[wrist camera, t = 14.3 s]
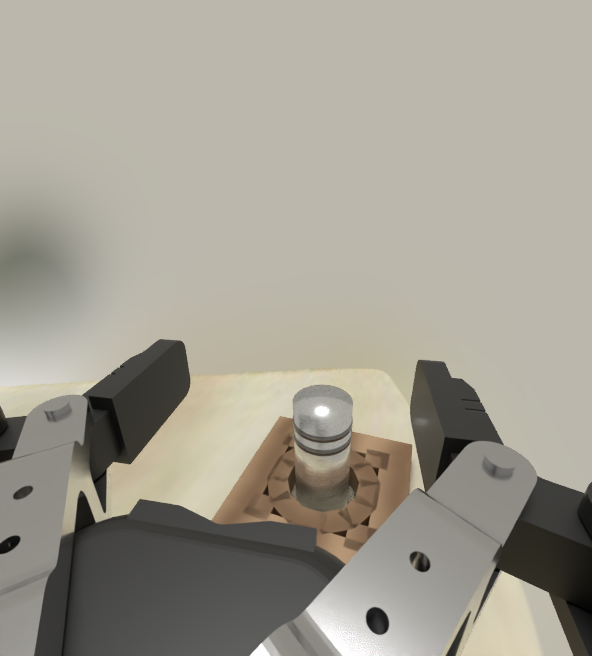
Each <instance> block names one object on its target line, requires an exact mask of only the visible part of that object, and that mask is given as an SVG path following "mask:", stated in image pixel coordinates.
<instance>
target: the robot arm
mask: <svg viewBox="0 0 592 656" xmlns="http://www.w3.org/2000/svg"><path fill="white" fill-rule="evenodd" d="M189 388H190V374H189V368H188V362H187V356H186V350H185V345H184V343H183V342H182V341H177V340H164V339H160V340H158V341H157V342H155V343H154V344H153V345H152V346H150V347H149V348H148V349H147V350H145V351H144V352H142V353H140V354H138V355H136V356H134V357H132V358H130V359H129V360H127V361H126V362H125V363H123V364H122V365H121V366H120V368H117V369H116V370H114V371H113V372H112V373H111V375H110V374H109V375H108V376H106V377H105V378H104V379H103V380H101V381H100V382H99V383H97V384H96V385H95V386H93V387H92V388H91V389H90V390H88V391H87V392H86V393H84V394H83V395H82V396H80V395H66V396H61V397H57V398H54V399H51V400H49V401H46V402H44V403H42V404H40V405H39V406H37V407H36V408H34V409H33V410H32V411H31V412H30V413H29V414H28V416H21V417H12V418H5V415H4V413H3V411H2V409H1V407H0V656H461V654H462V652H463V649H464V647H465V645H466V643H467V640H468V638H469V636H470V634H471V632H472V630H473V628H474V626H475V624H476V622H477V620H478V618H479V616H480V614H481V612H482V610H483V608H484V606H485V604H486V602H487V600H488V598H489V596H490V594H491V592H492V590H493V588H494V586H495V584H496V582H497V580H498V577H499V575H500V573H501V571H504V572H506V573H508V574H510V575H512V576H515V577H517V578H519V579H521V580H523V581H525V582H527V583H530V584H532V585H534V586H536V587H538V588H540V589H543V590H545V591H547V592H549V595H550V597H551V600H552V602H553V605H554V607H555V610H556V612H557V615H558V618H559V620H560V622H561V625H562V628H563V630H564V633H565V635H566V638H567V640H568V643H569V646H570V648H571V651H572V653H573V656H592V482H591V483H590V484H589V486H588V488H587V490H586V492H585V493H582V492H579V491H576V490H573V489H570V488H567V487H564V486H561V485H559V484H555V483H553V482H550V481H547V480H545V479H542V478H540V477H538V476H537V474H536V471H535V469H534V467H533V466H532V465H531V464H530V462H529V461H528V460H527V459H526V458H525V457H523V456H522V455H521V454H519V453H518V452H516V451H515V450H513V449H511V448H509V447H507V446H504V444H503V443H502V441H501V439H500V437H499V435H498V433H497V431H496V429H495V427H494V426H493V424H492V422H491V420H490V418H489V416H488V414H487V413H485V409H484V407H483V405H482V403H480V399H479V397H478V395H477V394H476V392H475V390H474V389H473V388H472V387H471V386H470V385H469V384H467V383H466V382H465V381H464V380H463V379H457V378H451V376H450V373H449V371H448V369H447V367H446V364H445V363H444V362H441V361H429V360H418V362H417V366H416V372H415V378H414V385H413V392H412V397H411V405H410V417H411V423H412V428H413V433H414V438H415V443H416V448H417V453H418V458H419V463H420V468H421V473H422V478H423V483H424V488H425V492H424V491H423V490H421V489H419V488H418V489H415V490H414V491H413V492H411V493H410V494H409V495H408V497H407V498H406V499H405V500H404V501H403V502H402V503H401V504H400V505H399V507H398V508H397V509H396V510H395V511H394V512H393V513H392V514H391V515H390V516H389V518H388V519H387V520H386V521H385V522H384V523H383V524H382V525H381V526H380V528H379V529H378V530H377V531H376V532H375V533H374V534H373V535H372V536H371V537H370V539H369V540H368V541H367V542H366V543H365V544H364V545H363V546H362V547H361V549H360V550H359V551H358V552H357V553H356V554H355V555H354V556H353V557H352V559H351V560H350V561H349V562H348V563H347V564H345V563H344V562H342V561H341V560H340V559H339V558H338V557H336V556H335V555H333V554H331V553H330V552H328V551H327V550H325V549H323V548H321V547H319V546H317V528H311V527H305V526H299V525H293V524H287V523H281V522H275V521H261V522H249V523H237V524H217V523H214V522H212V521H210V520H208V519H206V518H204V517H202V516H200V515H198V514H196V513H194V512H192V511H190V510H188V509H186V508H184V507H182V506H179V505H173V504H167V503H161V502H155V501H149V500H143V499H140V500H139V501H138V502H137V504H136V505H135V507H134V508H133V510H132V511H131V512H130V514H128V515H122V516H117V517H112V518H111V474H110V470H109V466H110V465H111V464H112V463H113V462H118V463H125V464H131V463H132V462H133V461H134V459H135V458H136V457H137V456H138V454H139V453H140V452H141V451H142V449H143V448H144V447H145V446H146V445H147V443H148V442H149V441H150V440H151V438H152V437H153V436H154V435H155V433H156V432H157V431H158V430H159V429H160V427H161V426H162V425H163V424H164V422H165V421H166V420H167V419H168V417H169V416H170V415H171V414H172V413H173V411H174V410H175V409H176V408H177V406H178V405H179V404H180V403H181V402H182V400H183V399H184V398H185V397H186V395H187V393H188V391H189Z"/></svg>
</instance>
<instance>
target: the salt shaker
mask: <svg viewBox="0 0 592 656" xmlns="http://www.w3.org/2000/svg"><path fill="white" fill-rule="evenodd" d="M352 408H353V401H352V398H351V396H350V395H349V394H348V393H347V392H346V391H344V390H342V389H340V388H338V387H334V386H330V385H314V386H309V387H306V388H304V389H302V390H300V391H299V392H298V393H296V395H295V396H294V398H293V426H294V428H293V436H294V449H295V479H296V500H297V501H298V502H299V503H300V504H301V505H302V506H303V507H306V508H309V509H312V510H316V511H319V512H328V511H333V510H339V509H342V508H344V507H345V506H346V505H347V504H348V490H349V470H350V449H351V439H352Z"/></svg>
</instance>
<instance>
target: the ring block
mask: <svg viewBox="0 0 592 656" xmlns="http://www.w3.org/2000/svg"><path fill="white" fill-rule="evenodd" d="M293 428H294V426H293V419H291V418H286V417H282V416H280V417H279V419H278V420H277V422H276V423H275V425H274V426H273V428H272V429H271V431H270V432H269V434H268V435H267V437H266V438H265V440H264V441H263V443H262V445H261V446H260V448H259V449H258V451H257V452H256V454H255V455H254V457H253V458H252V460H251V461H250V463H249V464H248V466H247V467H246V469H245V470H244V472H243V473H242V475H241V476H240V478H239V480H238V481H237V483H236V484H235V486H234V487H233V489H232V490H231V492H230V493H229V495H228V496H227V498H226V499H225V501H224V502H223V504H222V505H221V507H220V508H219V510H218V511H217V513H216V515H215V516H214V518H213V519H212V522H214V523H217V524H237V523H249V522H261V521H275V522H281V523H287V524H293V525H299V526H305V527H311V528H317V546H319V547H321V548H323V549H325V550H327V551H328V552H330V553H331V554H333V555H335V556H336V557H338V558H339V559H340V560H341V561H342V562H344V563H345V564H347V563H348V562H349V561H350V560H351V559H352V557H353V556H354V555H355V554H356V553H357V552H358V551H359V550H360V549H361V547H362V546H363V545H364V544H365V543H366V542H367V541H368V540H369V539H370V537H371V536H372V535H373V534H374V533H375V532H376V531H377V530H378V529H379V528H380V526H381V525H382V524H383V523H384V522H385V521H386V520H387V519H388V518H389V516H390V515H391V514H392V513H393V512H394V511H395V510H396V509H397V508H398V507H399V505H400V504H401V503H402V502H403V501H404V500H405V499H406V498H407V497H408V495H409V482H410V469H411V456H412V445H411V444H406V443H402V442H397V441H392V440H388V439H383V438H379V437H374V436H369V435H365V434H360V433H355V432H352V439H351V449H350V470H349V484H350V485H351V486H352V487H353V490H354V492H355V495H356V497H355V498H354V499H353V500H352V501H351V502H350V503H348V504H347V505H346V506H345V507H344V508H342V509H339V510H333V511H328V512H319V511H316V510H312V509H309V508H306V507H303V506H302V505H301V504H300V503H299V502H298V501H297V500H296V499H295V498H294V497H293V496H292V495H291V494H290V492H291V490H292V488H293V486H294V484H295V483H296V479H295V449H294V436H293Z"/></svg>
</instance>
